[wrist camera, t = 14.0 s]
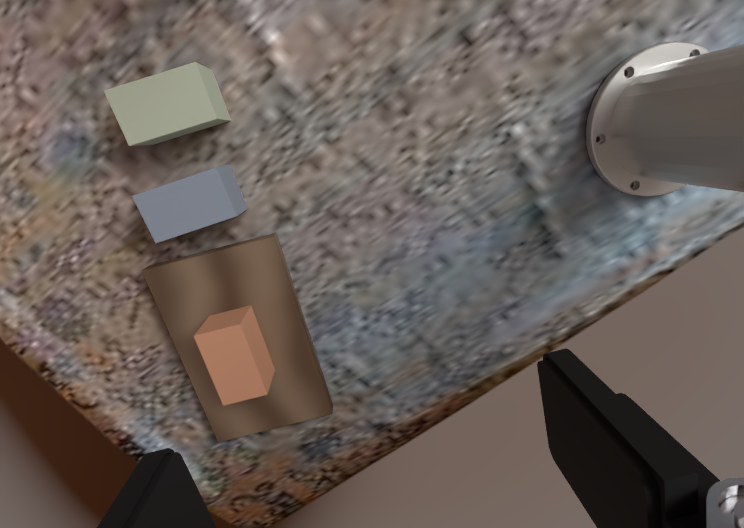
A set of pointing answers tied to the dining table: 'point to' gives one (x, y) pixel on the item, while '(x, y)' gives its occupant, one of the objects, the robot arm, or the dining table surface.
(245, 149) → the dining table surface
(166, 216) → the slate brick
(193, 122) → the sage brick
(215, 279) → the oak board
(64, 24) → the dining table surface
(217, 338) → the terracotta brick
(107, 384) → the dining table surface
